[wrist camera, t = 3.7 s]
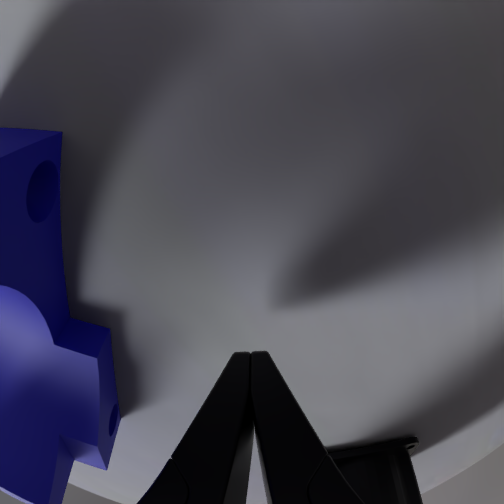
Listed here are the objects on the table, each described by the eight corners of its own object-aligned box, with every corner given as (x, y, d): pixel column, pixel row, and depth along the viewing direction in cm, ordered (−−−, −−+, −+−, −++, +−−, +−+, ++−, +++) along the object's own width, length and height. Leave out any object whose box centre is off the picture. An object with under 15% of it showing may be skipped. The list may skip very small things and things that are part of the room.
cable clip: (121, 415, 13) (93, 530, 7) (38, 388, 12) (-4, 488, 7) (116, 136, 7) (-91, 278, 2) (-12, 125, 6) (-176, 213, 1)
